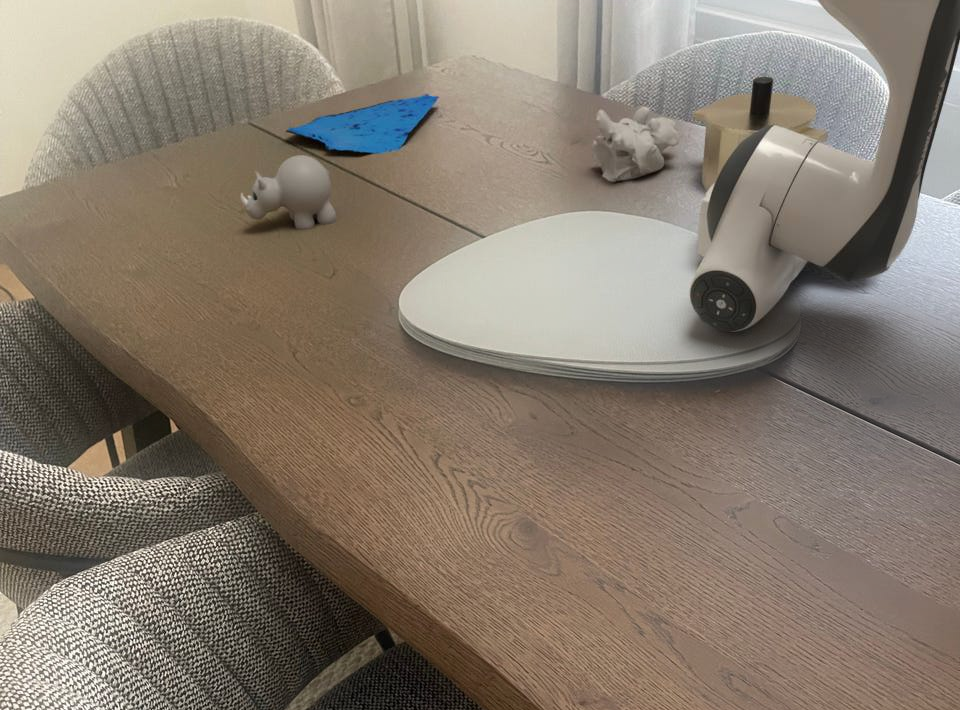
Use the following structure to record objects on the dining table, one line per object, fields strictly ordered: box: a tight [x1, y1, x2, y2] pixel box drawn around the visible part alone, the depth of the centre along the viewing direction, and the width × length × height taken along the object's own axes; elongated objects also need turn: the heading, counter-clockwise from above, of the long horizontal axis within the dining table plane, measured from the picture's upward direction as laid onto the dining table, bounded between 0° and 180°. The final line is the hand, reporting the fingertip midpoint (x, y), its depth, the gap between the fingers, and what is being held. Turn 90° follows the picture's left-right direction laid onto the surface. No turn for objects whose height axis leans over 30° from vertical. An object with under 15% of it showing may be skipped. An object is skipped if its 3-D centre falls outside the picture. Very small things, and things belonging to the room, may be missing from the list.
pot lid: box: [704, 76, 817, 135], centre depth 120 cm, size 14×14×5 cm
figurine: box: [591, 106, 681, 183], centre depth 129 cm, size 8×10×12 cm
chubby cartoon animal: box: [240, 154, 338, 230], centre depth 127 cm, size 7×12×8 cm, turn 108°
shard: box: [284, 93, 440, 155], centre depth 153 cm, size 25×24×2 cm
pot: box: [692, 106, 829, 191], centre depth 124 cm, size 13×18×8 cm
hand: (813, 189), depth 112 cm, fingers closed on lemon, 5 cm apart
